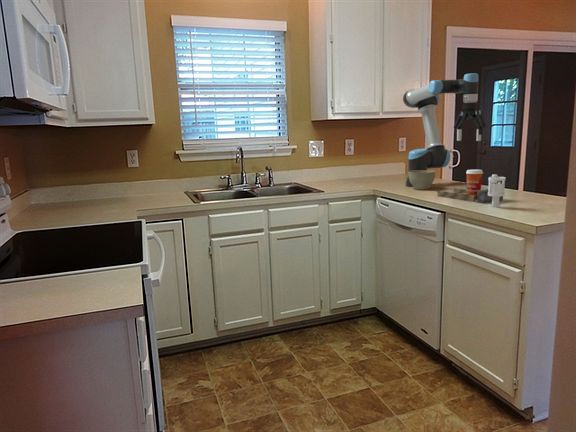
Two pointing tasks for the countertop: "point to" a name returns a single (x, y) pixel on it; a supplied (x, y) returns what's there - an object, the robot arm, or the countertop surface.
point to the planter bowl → (421, 178)
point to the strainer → (496, 189)
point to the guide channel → (462, 195)
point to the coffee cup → (474, 181)
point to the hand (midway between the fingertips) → (468, 140)
